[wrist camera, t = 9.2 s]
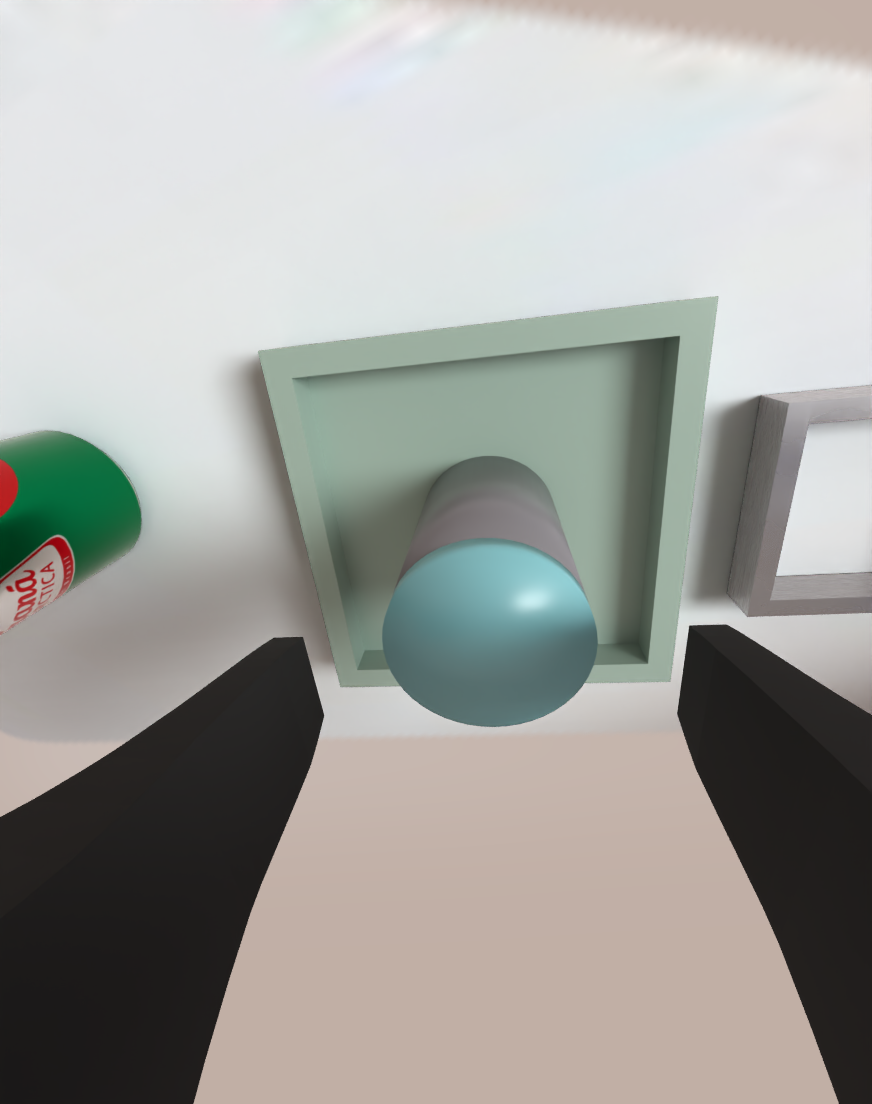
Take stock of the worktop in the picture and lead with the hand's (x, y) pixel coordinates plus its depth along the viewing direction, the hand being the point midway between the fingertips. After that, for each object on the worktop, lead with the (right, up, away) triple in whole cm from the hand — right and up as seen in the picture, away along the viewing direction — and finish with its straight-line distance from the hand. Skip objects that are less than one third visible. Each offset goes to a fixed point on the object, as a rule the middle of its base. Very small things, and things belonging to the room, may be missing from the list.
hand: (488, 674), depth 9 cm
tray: (+1, +4, +8) cm, 8 cm away
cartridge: (+1, +3, +7) cm, 8 cm away
